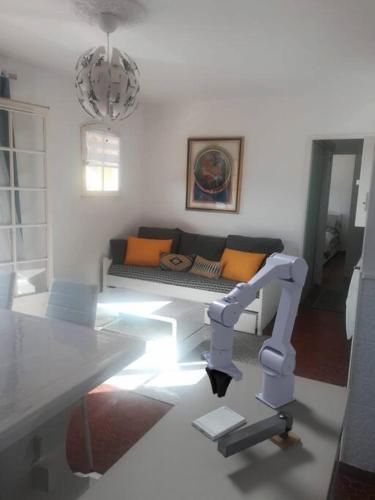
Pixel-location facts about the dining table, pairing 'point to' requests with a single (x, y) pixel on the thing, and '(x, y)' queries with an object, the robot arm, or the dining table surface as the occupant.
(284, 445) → the post mount
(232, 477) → the dining table surface
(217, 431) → the hard drive
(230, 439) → the swing bar
